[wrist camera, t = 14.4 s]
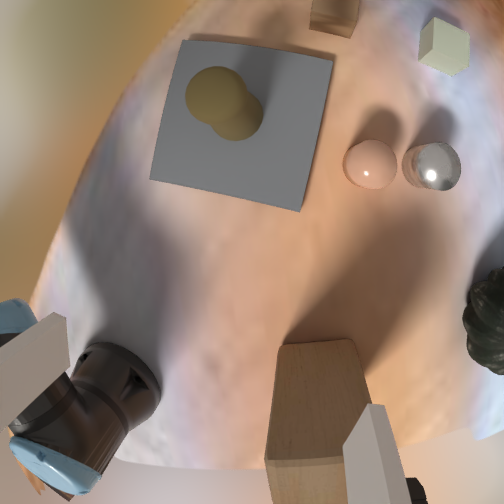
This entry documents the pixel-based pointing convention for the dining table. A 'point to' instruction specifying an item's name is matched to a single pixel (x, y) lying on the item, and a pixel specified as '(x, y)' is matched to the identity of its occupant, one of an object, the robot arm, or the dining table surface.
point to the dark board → (261, 142)
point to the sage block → (444, 47)
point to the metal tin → (432, 166)
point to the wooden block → (313, 421)
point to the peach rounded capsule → (370, 164)
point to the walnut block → (334, 16)
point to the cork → (224, 103)
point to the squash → (486, 322)
